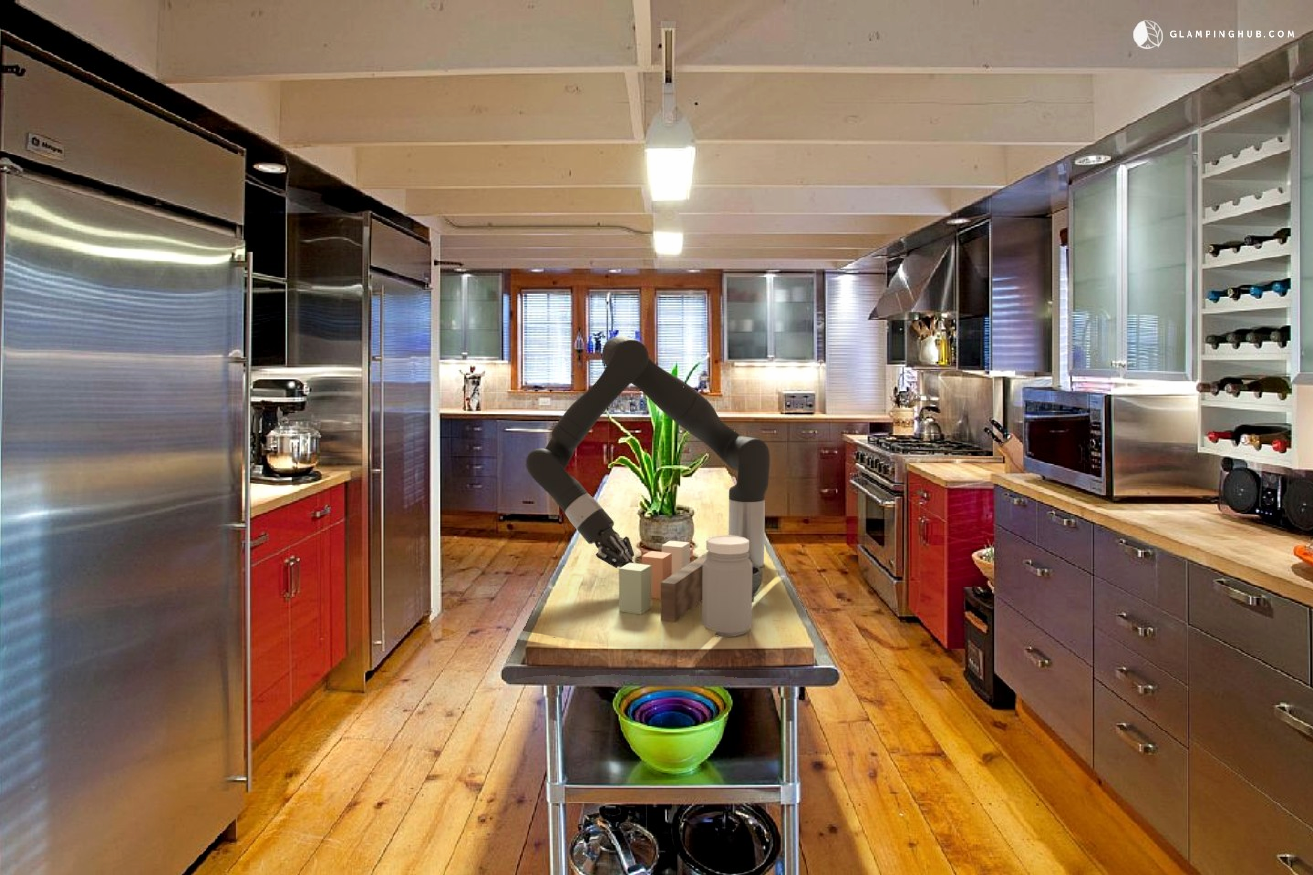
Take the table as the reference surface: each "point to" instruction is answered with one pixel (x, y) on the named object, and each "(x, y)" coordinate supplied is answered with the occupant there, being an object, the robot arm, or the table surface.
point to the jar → (727, 586)
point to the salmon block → (658, 570)
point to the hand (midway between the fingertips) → (638, 576)
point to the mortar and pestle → (756, 579)
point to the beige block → (678, 554)
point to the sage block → (635, 588)
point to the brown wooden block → (682, 590)
